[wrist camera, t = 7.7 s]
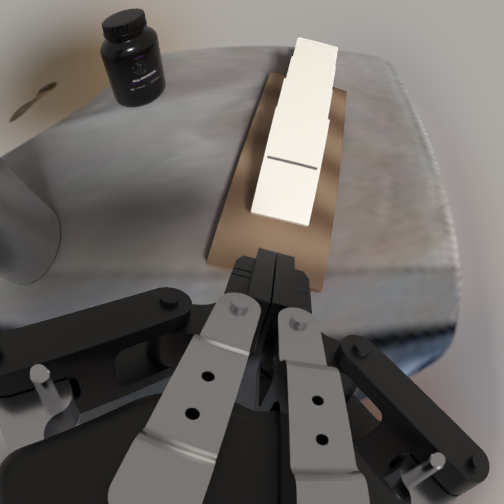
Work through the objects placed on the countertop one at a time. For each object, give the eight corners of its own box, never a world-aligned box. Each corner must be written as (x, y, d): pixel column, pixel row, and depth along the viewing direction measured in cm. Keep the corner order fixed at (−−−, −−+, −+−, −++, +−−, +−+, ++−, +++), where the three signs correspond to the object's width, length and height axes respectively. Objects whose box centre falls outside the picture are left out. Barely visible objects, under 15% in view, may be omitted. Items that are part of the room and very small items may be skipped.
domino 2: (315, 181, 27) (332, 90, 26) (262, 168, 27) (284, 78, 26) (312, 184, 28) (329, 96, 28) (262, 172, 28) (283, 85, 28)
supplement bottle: (151, 112, 32) (130, 31, 21) (107, 106, 32) (79, 35, 21) (175, 78, 34) (164, 3, 23) (133, 74, 34) (115, 6, 23)
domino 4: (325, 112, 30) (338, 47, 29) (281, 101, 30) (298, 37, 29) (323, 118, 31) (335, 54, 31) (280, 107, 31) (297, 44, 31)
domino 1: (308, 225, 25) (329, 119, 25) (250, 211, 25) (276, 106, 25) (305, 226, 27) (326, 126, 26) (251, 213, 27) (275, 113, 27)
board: (318, 293, 26) (321, 290, 25) (207, 265, 26) (206, 261, 25) (343, 97, 35) (346, 91, 33) (269, 78, 35) (270, 71, 34)
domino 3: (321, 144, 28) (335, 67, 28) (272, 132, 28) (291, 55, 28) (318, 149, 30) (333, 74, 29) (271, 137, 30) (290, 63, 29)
